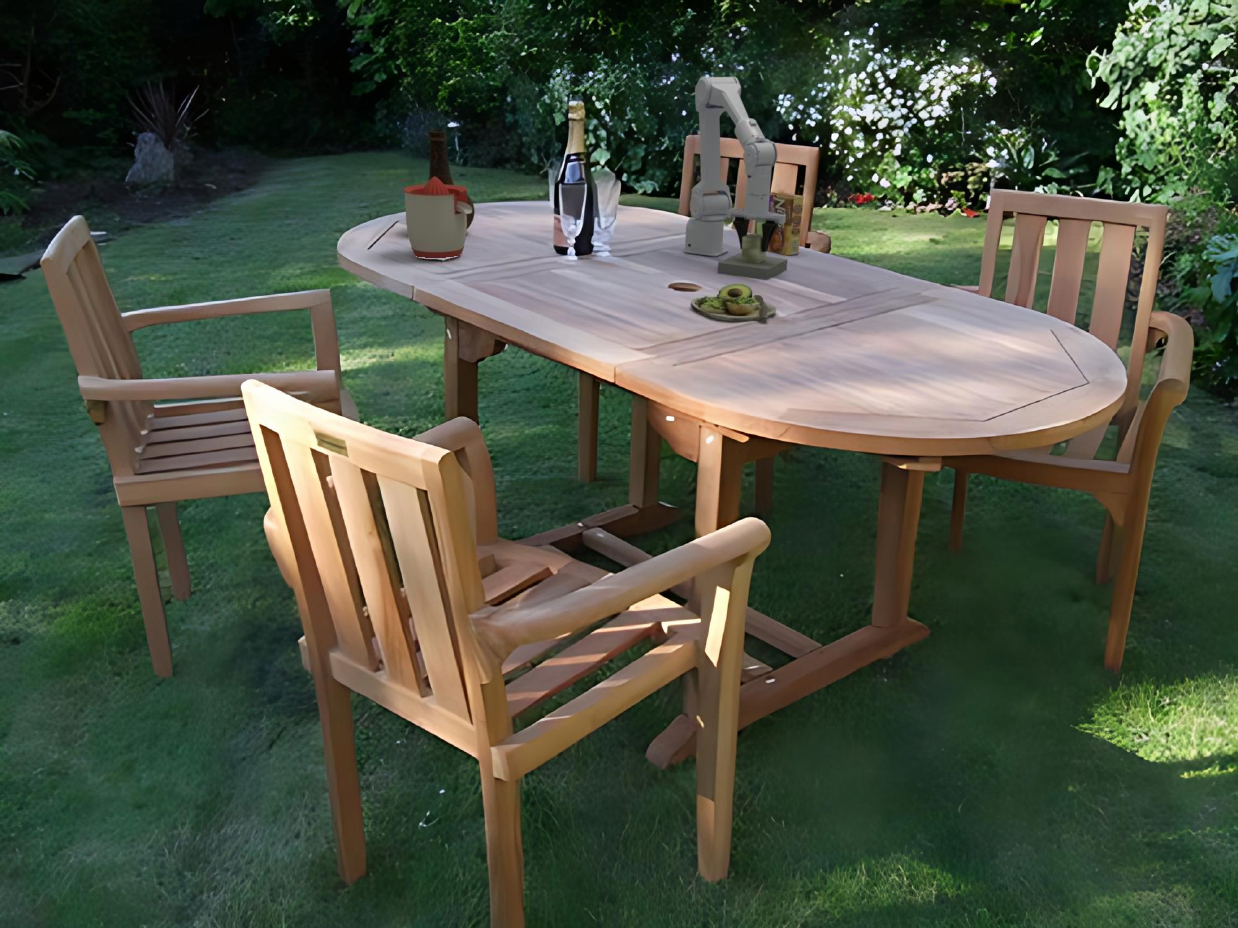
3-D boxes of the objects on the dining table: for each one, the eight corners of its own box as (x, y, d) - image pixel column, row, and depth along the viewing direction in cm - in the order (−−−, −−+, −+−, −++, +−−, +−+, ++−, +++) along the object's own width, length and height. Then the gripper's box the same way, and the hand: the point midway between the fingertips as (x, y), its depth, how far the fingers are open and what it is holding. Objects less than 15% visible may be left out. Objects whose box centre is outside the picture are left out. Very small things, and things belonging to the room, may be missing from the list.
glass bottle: (477, 228, 318) (474, 127, 307) (472, 241, 301) (469, 134, 290) (414, 228, 317) (409, 126, 306) (406, 240, 300) (400, 133, 289)
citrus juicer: (455, 266, 273) (452, 183, 266) (395, 259, 279) (390, 178, 271) (486, 254, 287) (483, 175, 279) (427, 247, 293) (423, 170, 285)
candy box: (799, 254, 294) (804, 195, 288) (788, 256, 292) (793, 197, 286) (775, 248, 301) (779, 191, 295) (764, 250, 298) (768, 192, 292)
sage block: (741, 261, 274) (742, 237, 271) (748, 257, 277) (749, 233, 275) (758, 263, 272) (759, 238, 269) (765, 259, 275) (766, 235, 273)
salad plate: (798, 321, 234) (800, 300, 232) (723, 329, 228) (725, 307, 226) (752, 299, 251) (753, 279, 249) (681, 306, 244) (682, 286, 242)
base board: (717, 272, 273) (718, 262, 272) (738, 262, 283) (739, 253, 282) (767, 279, 267) (767, 269, 266) (786, 269, 278) (787, 259, 277)
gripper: (723, 193, 268) (720, 249, 273) (779, 199, 261) (775, 256, 267) (735, 189, 274) (731, 244, 279) (790, 195, 267) (786, 251, 272)
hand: (753, 250), depth 273 cm, fingers open, 5 cm apart
